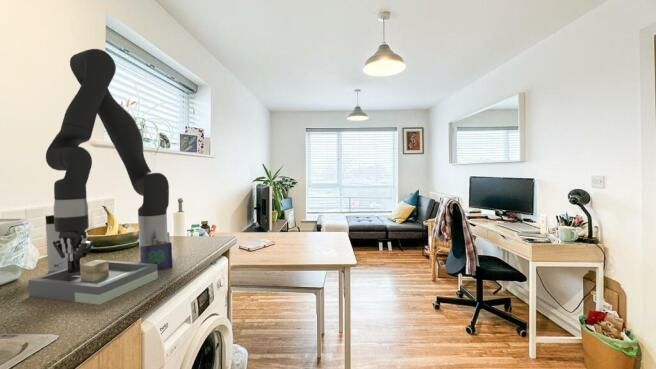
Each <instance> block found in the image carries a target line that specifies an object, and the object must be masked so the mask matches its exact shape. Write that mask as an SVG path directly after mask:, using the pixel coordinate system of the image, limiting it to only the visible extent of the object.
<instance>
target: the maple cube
mask: <svg viewBox="0 0 656 369" xmlns="http://www.w3.org/2000/svg"><path fill="white" fill-rule="evenodd" d="M103 260H104V259H94V260H91V262H90V261H87V262H88V263H87V262H83V263H80V264H81V265H80V272H81V280H83V281H96V280H99V279H101V278H104V277H107V276H109V267H108V261H103Z"/></svg>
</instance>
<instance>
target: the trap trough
mask: <svg viewBox="0 0 656 369" xmlns="http://www.w3.org/2000/svg"><path fill="white" fill-rule="evenodd" d="M102 260H103V261H108V267H109V276H107V277H104V278H101V279H99V280H96V281H83V280H81V272H80V271H79V272H76V273H68V268H67V269H63V270H60V271H57V272H53V273H50V274H49V273H47V274H44V275H41V276H37V277H34V278H30V279H28V280H27V282H28V296H29V297H32V298H33V297H34V298H40V299H49V300H57V301H65V302H72V303H73V302H75V303H82V304H90V305H98V306H99V305H103V304H105V303H107V302H109V301H111V300H113V299H116V298H117V297H120V296H122V295H124V294H127V293H128V292H132V291H133V290H135V289H137V288H139V287H141V286H145V285H146V284H149V283H150V282H153V281H154V280H157V279H159V276H158V275H159V274H158V273H159V272H158V271H159V270H157V264H149V263H141V262H133V261H122V260H121V261H120V260H107V259H106V260H105V259H102ZM91 261H92V260H91ZM91 261H87V262H86V263H88V262H91ZM81 264H82V263H80V265H81Z"/></svg>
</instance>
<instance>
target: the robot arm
mask: <svg viewBox="0 0 656 369" xmlns="http://www.w3.org/2000/svg"><path fill="white" fill-rule="evenodd" d="M69 67H70V69H71V72H72V74H73V75H74V77H75V78H76V81H77V82H78V83H79V85H80V87H79V89H78V91H77V92H76V94H75V95H74V97H73V99H71V102H70V103H69V105H68V106H67V108H66V110H65V113H64V116H63V119H62V123H61V126H60V130H59V132H57V134H56V136H55V137H54V139H52V141H51V143H50V144H49V146H48V147H47V150H46V153H45V161H46V164H47V165H48V166H49V167H50V169H53V170H55V171H59V172H60V171H61V172H62V171H63V172H64V171H65V175H64V177H63V178H61V179H57V180H56V181H55V182H54V184H53V195H54V196H53V198H54V203H53V215H54V227H55V231H56V232H60V234H59V239H58V240H57V241H53V245H54V247H55V248H56V250H57V252H58V253H59V255H60V257H61V258H65V260H66V261H67V262H68V273H76V272H79V271H80V264H81V259H83V258H85V257H87V255H88V254H89V252H90V250H91V248H92V246H94V242H93V241H92V240H90V241H89V240H88V239H87V238H88V237H87V234H86V230H88V229H89V228H90V223H89V222H90V220H89V205H88V204H89V203H88V199H87V197H88V196H87V183H88V180H89V177H90V173H91V169H92V167H93V157H92V156H91V155H92V154H91V153H90V151H88V150H87V149H86V148H85V147H82V146H80V145H81V144H83V143H86V142H89V141H90V140H91V138H92V134H93V130H94V127H95V123H96V119H97V115H98V117H99V119H100V121H101V123H102V125H103V127H104V129H105V131H106V133H107V135H108V137H109V139H110V141H111V143H112V145H113V146H114V148H115V150H116V152H117V154H118V156H119V158H120V160H121V162H122V163H123V165H124V167H125V170H126V172H127V175H128V178H129V181H130V183H131V186H132V188H133V190H134V191H135V192H136V193H137V194H138V195H139V196H142V197H143V198H142V205H141V206H140V207H139V208H137V209H138V210H137V219H138V220H137V221H138V243H139V245H138V246H139V249H140V246H141V245H146V244H154V241H153V240H154V239H155V238H158V241H160V242H161V241H163V242H164V241H166V242H171V241H170V240H171V238H170V232H169V231H168V217H167V214H168V213H167V210H168V207H169V203H170V202H169V201H170V184H169V180H168V178H167V177H166V175H165V174H163V173H160V172H156V171H154V172H152V170H151V169H150V167H149V165H148V163H147V160H146V158H145V155H144V140H143V135H142V132H141V130H140V128H139V126H138V124H137V122H136V120H135V119H134V117H133V115H132V114H131V113H130V112H129V111H128V110H127V109H125V107H124V106H122V104H121V103H119V102H118V101H117V100H116V99H115V97H114V96H113V94H112V92H111V91H110V89H109V86H110V84H111V83H112V81H113V79H114V76H115V74H116V71H117V65H116V62H115V60H114V59H113V57H112V56H111V55H110V54H109V53H108V52H107V51H105V50H103V49H101V48H89V49H86V50H83V51H81V52H78V53H76V54H73V55H72V56H71V57H70V59H69ZM64 253H65V254H64ZM139 263H141V252H140V251H139Z"/></svg>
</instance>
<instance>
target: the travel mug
mask: <svg viewBox="0 0 656 369" xmlns="http://www.w3.org/2000/svg"><path fill="white" fill-rule="evenodd" d="M45 232H46V251H47V252H46V253H47V255H46V256H47V269H48V270H47V271H48V273H47V274H50V273H53V272H57V271H60V270H63V269H67V268H68V262H67V261H66V260H65V258H61V257H60V255H59V253H58V252H57V250H56V248H55V247H54V245H53V241H57V240H58V239H59V234H60V232H56V231H55V227H54V214H53V215H45ZM64 254H65V253H64Z"/></svg>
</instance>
